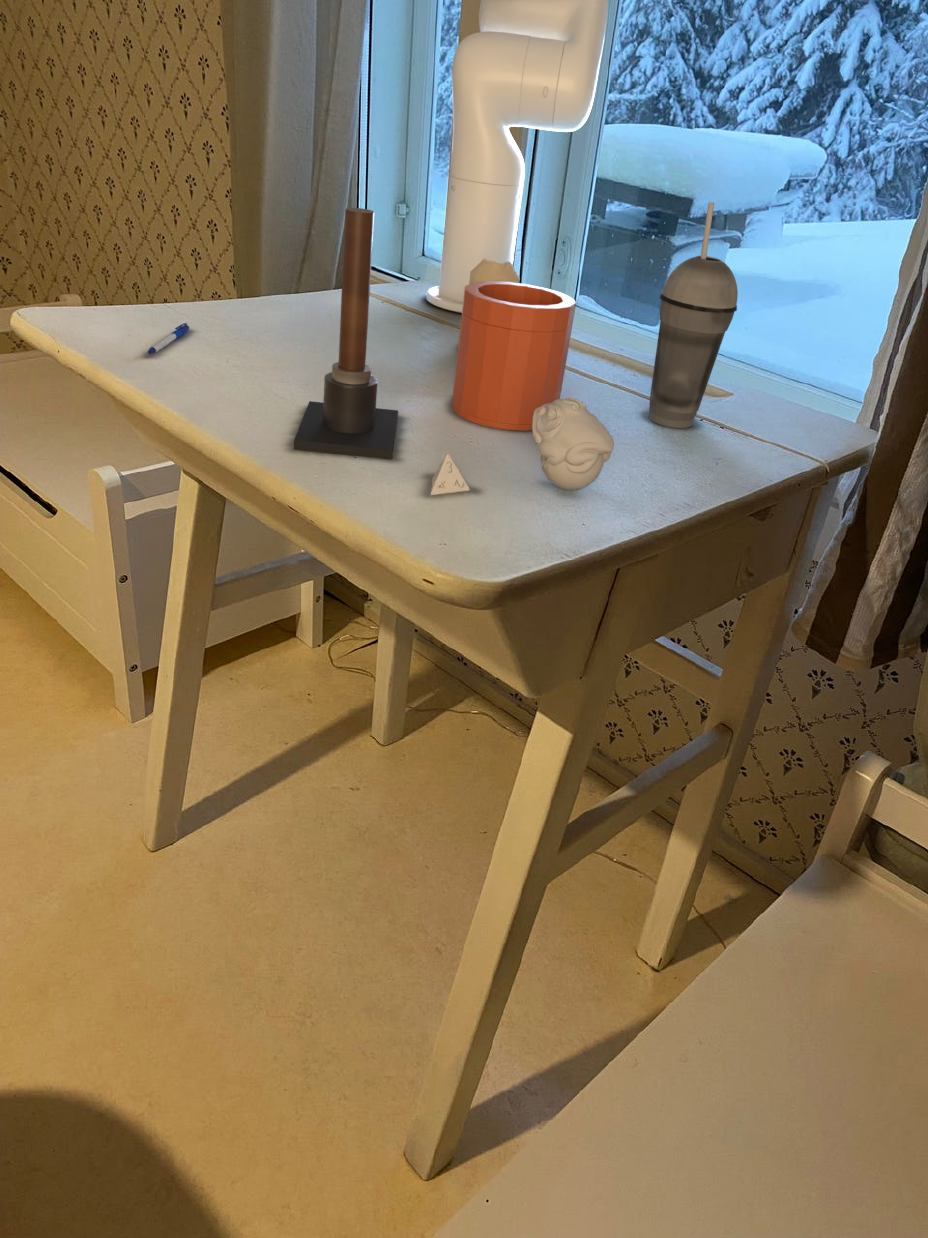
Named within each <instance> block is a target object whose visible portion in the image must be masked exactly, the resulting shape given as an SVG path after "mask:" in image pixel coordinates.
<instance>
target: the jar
mask: <svg viewBox="0 0 928 1238" xmlns="http://www.w3.org/2000/svg"><path fill="white" fill-rule="evenodd" d="M576 307H577V302H576V301H575V298H573V297H571V296H569V295H568V294H565V293H563V292H561V291H558V290H554V289H551V288H548V287H543V286H537V285H534V284H529V283H528V284H527V283H521V282H519V283H512V282H498V281H484V282H474V283H471V284H469V285H466V286H465V290H464V300H463V309H462V313H461V320H460V329H459V338H458V345H457V346H458V347H457V355H456V366H455V371H454V372H455V374H454V382H453V392H452V404H451V407H452V410H453V412H455V414H456V415H458V416H459V417H461V418H463V419H464V420H466V421H469V422H471V423H474V424H477V425H480V426H484V427H488V428H492V429H499V430H505V431H523V432H524V431H532V422H533V414H534V411H535V410H536V409H537V408H538V407H541V406H543V405H544V404H548V403H552V402H553V401H555V400H557V399H561V395H562V390H563V389H562V388H563V383H564V377H565V371H566V366H567V360H568V353H569V348H570V342H571V335H572V330H573V324H574V318H575V312H576Z"/></svg>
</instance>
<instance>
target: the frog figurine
mask: <svg viewBox="0 0 928 1238" xmlns="http://www.w3.org/2000/svg"><path fill="white" fill-rule="evenodd" d="M531 431H532V436H533V439H534V444H536V445H538V446H537V450H538V453H539V455H540V466H541V469H542V472H543V474H544V476H545V477H546V478H547V479H548V481H549V482H550V483H551V484H553V485H554V486H556V487H558V488H559V489H563V490H567V491H576V490H581V489H584V488H585V487H588V486H589V485H591V484H592V483H594V482H595V481H596V479H598V477H599V475H600V474H601V472H602V470H603V468H604V467H603V466H604V465H605V464H604V463H606V462H608V461H609V459H610V458H611V456H612V453H613V450H614V446H615V441H614V438H613V436H612V435H611V433H610V432H609V431H608V429H607V427H606V426H605V425H604V423H603V422H601V420H599V419H598V417H597V416H596V415H595V414H594V413H592V412H591V411H589V410H588V409H587V405H586V404H585V403H584V402H583V401H580V400H579V399H577V398H575V397H564V398H560V399H557V400H555V401H553V402H552V403H548V404H544V405H543V406H541V407H538V408H537V409H536V410H535V411H534V414H533V422H532V430H531Z"/></svg>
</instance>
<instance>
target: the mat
mask: <svg viewBox="0 0 928 1238" xmlns="http://www.w3.org/2000/svg"><path fill="white" fill-rule="evenodd" d="M323 403H324V401H323V402H322V401H321V402H320V401H312V400H309V401H308V404H307V406H306V408H305V412H304V413H303V416H302V419H301V422H300V423H299V426H298V429H297V430H296V431H297V432H296V434H295V436H294V439H293V450H297V451H307V452H316V453H327V454H336V455H347V456H355V457H366V458H375V459H376V458H377V459H385V460H386V459H387V460H393V457H394V448H395V442H396V435H397V434H396V433H397V427H398V420H399V419H398V418H399V410H397V409H388V408H379V407H376V414H375V427H374V429H373V430H372V431H370V432H366V433H361V434H346V433H340V432H336V431H333V430H330V429H328V428H326V427H325V426H324V425H323Z"/></svg>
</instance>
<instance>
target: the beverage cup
mask: <svg viewBox="0 0 928 1238" xmlns="http://www.w3.org/2000/svg"><path fill="white" fill-rule="evenodd" d="M714 208H715V202H710V201H709V202H708V205H707V211H706V217H705V223H704V224H705V225H704V231H703V236H702V244H701V249H700V255H697V256H693V257H690V258H687V259H685V260H684V261H682V262H680V263H679V264H678V265H676V267H675V268H674V269H673V270H672V271H671V272H670V274H669V275H668V277H667V279H666V280H665V282H664V285H663V288H662V291H661V293H660V295H659V299H660V304H659V329H658V336H657V343H656V351H655V358H654V365H653V366H654V367H653V372H652V380H651V387H650V394H649V406H648V407H649V408H648V414H647V418H648V419H649V420H650V421H651V422H653V423H656V424H657V425H660V426H664V427H668V428H676V429H685V428H687V429H688V428H691V427H692V426H693V424H694V421H695V419H696V416H697V414H698V411H699V409H700V407H701V404H702V400H703V398H704V395H705V392H706V389H707V387H708V383H709V380H710V378H711V374H712V371H713V369H714V366H715V363H716V360H717V357H718V355H719V351H720V348H721V345H722V343H723V341H724V338H725V337H724V336H725V334H726V332H727V331H728V330H729V327H730V326H731V323H732V321H733V318H734V315H735V312H737V311H738V305H737V304H738V296H739V295H738V294H739V290H738V283H737V281H736V278H735V274H734V272H733V270H732V269H731V268H730V266H729V265H727V263H725V262H724V261H723V260H721V259H719V258H717V257H714V256H708V248H709V242H710V235H711V228H712V222H713V214H714Z"/></svg>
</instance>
